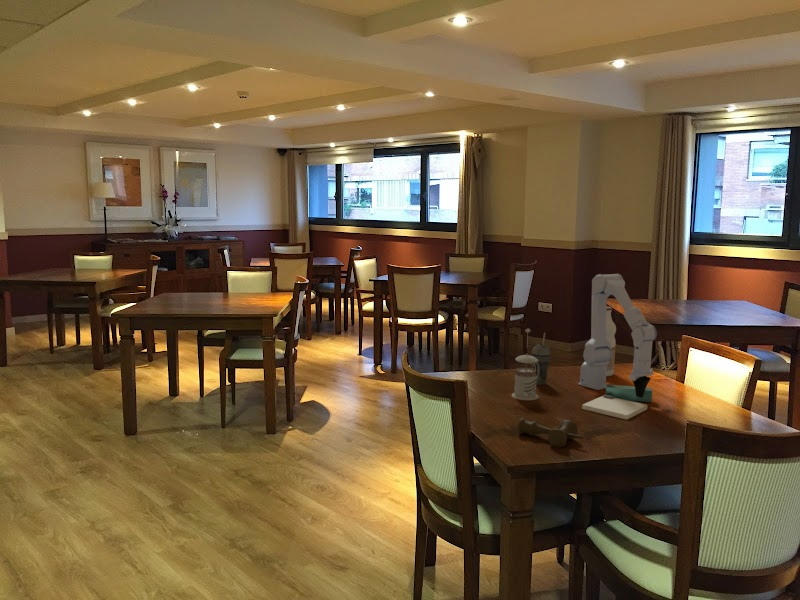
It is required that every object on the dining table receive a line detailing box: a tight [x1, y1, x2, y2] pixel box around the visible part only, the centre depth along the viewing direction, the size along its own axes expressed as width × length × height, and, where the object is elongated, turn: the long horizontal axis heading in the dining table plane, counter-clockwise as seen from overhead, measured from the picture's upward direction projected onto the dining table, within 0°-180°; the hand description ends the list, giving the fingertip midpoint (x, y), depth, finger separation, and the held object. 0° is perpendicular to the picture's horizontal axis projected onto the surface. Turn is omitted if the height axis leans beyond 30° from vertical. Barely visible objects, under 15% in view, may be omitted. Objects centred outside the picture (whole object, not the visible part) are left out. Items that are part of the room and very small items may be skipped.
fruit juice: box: [606, 305, 617, 377], centre depth 274 cm, size 9×9×28 cm
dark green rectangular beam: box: [604, 383, 653, 403], centre depth 239 cm, size 16×4×5 cm, turn 75°
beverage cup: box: [531, 332, 551, 386], centre depth 259 cm, size 7×7×20 cm
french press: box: [511, 328, 539, 401], centre depth 241 cm, size 10×12×25 cm
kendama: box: [517, 417, 585, 449], centre depth 197 cm, size 6×10×20 cm
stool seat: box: [581, 394, 648, 420], centre depth 228 cm, size 16×16×2 cm
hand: (639, 396), depth 235 cm, fingers closed
